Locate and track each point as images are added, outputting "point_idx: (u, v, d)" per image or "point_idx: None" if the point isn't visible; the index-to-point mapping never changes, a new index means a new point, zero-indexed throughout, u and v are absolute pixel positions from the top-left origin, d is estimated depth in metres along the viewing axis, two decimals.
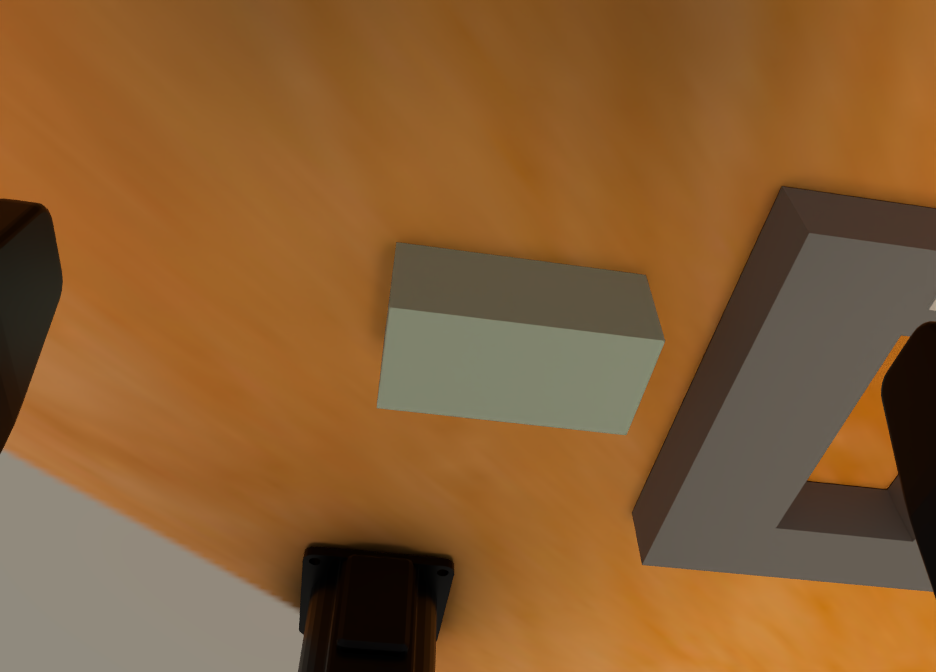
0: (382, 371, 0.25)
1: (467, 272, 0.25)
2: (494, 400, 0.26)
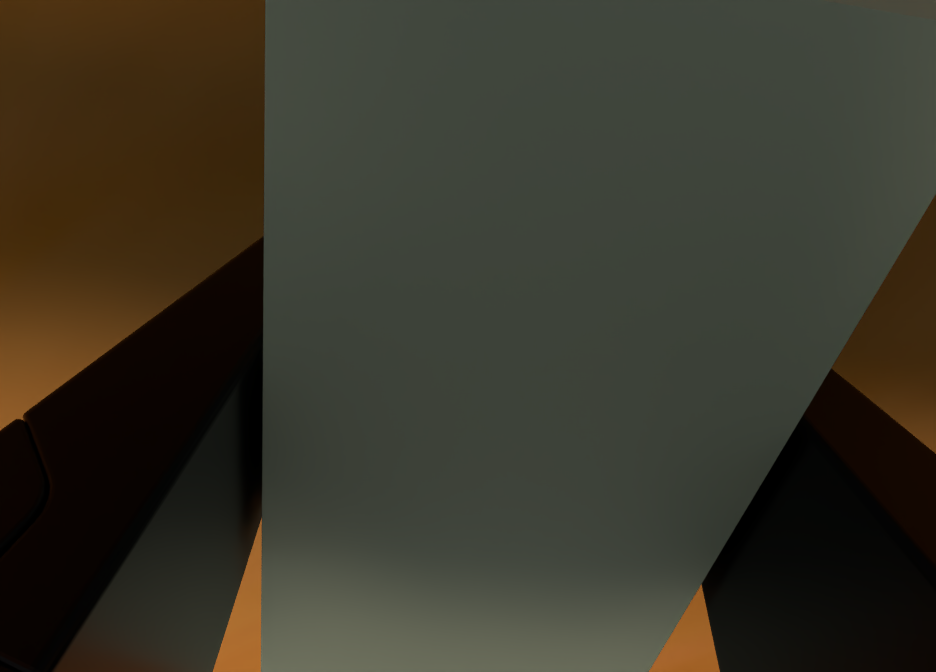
0: None
1: None
2: (631, 531, 0.07)
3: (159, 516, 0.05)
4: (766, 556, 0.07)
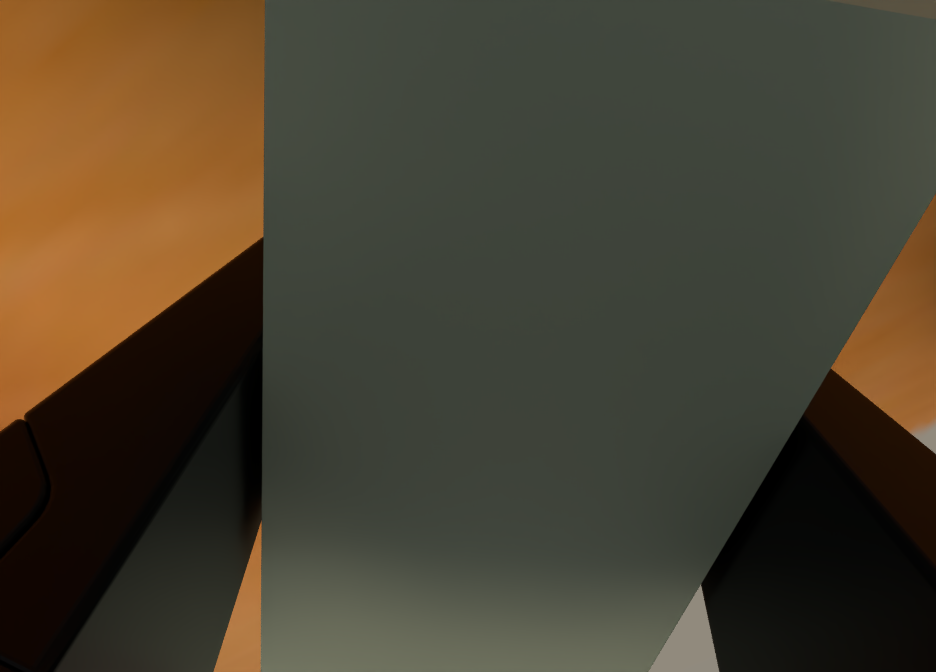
0: None
1: None
2: (631, 531, 0.07)
3: (160, 516, 0.05)
4: (766, 556, 0.07)
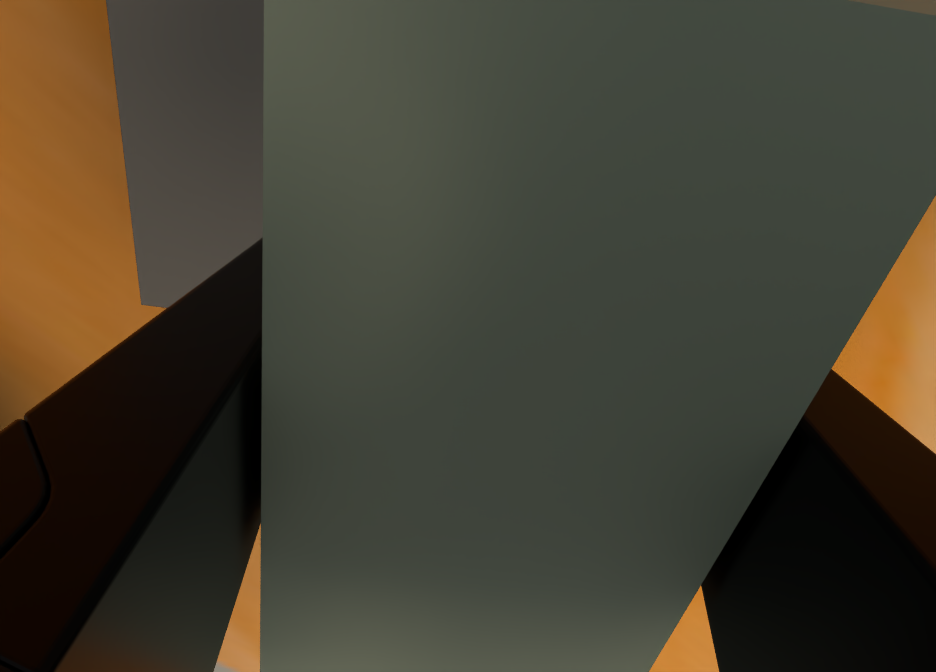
0: None
1: None
2: (631, 530, 0.07)
3: (161, 516, 0.05)
4: (765, 556, 0.07)
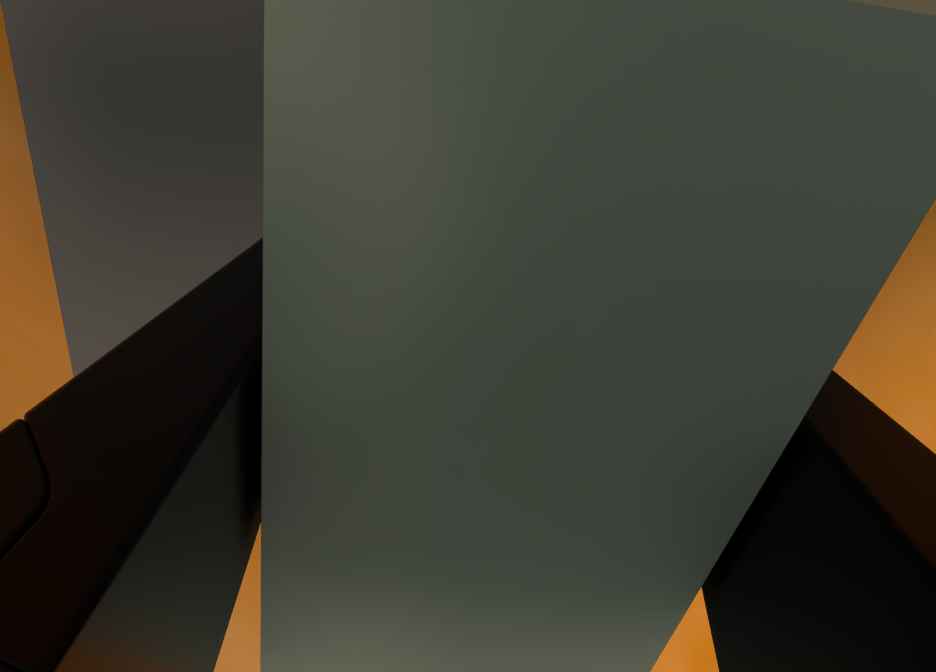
0: None
1: None
2: (632, 531, 0.07)
3: (160, 516, 0.05)
4: (765, 556, 0.07)
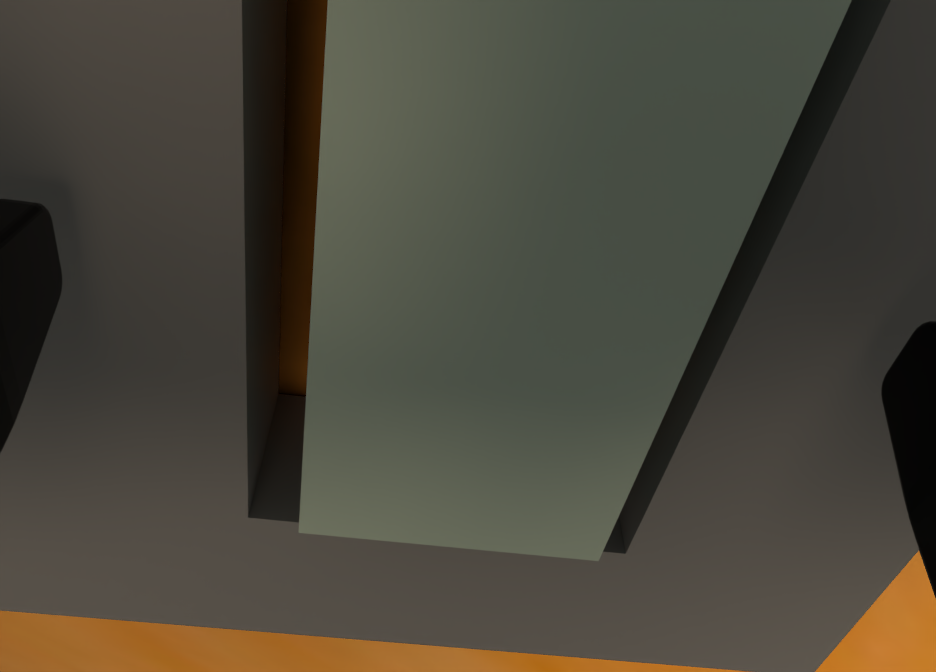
0: (485, 548, 0.11)
1: None
2: (606, 360, 0.09)
3: None
4: None
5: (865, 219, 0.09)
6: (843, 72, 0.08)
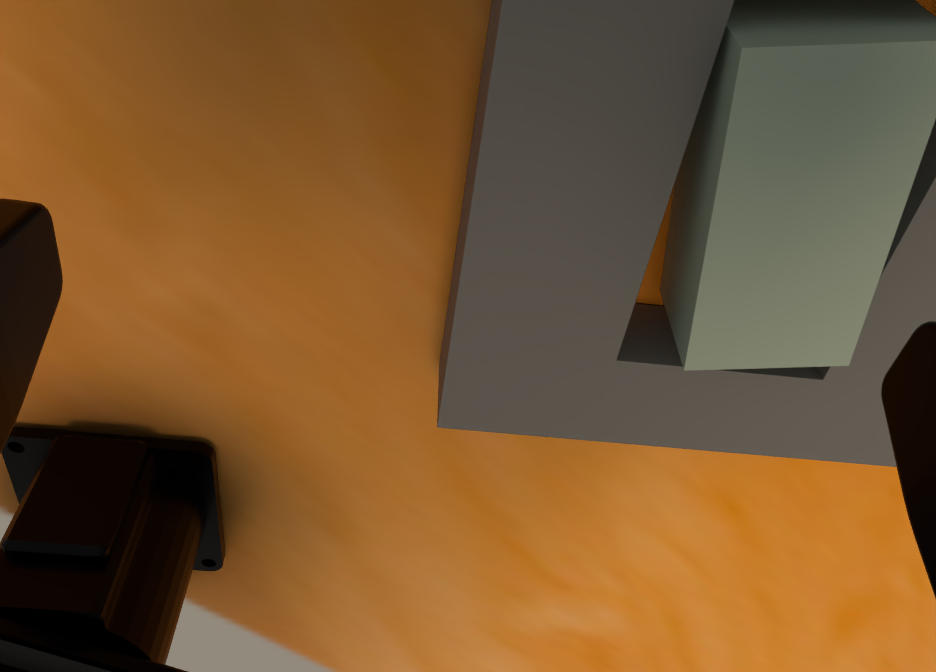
0: (785, 366, 0.20)
1: (678, 245, 0.20)
2: (850, 246, 0.18)
3: None
4: None
5: None
6: None
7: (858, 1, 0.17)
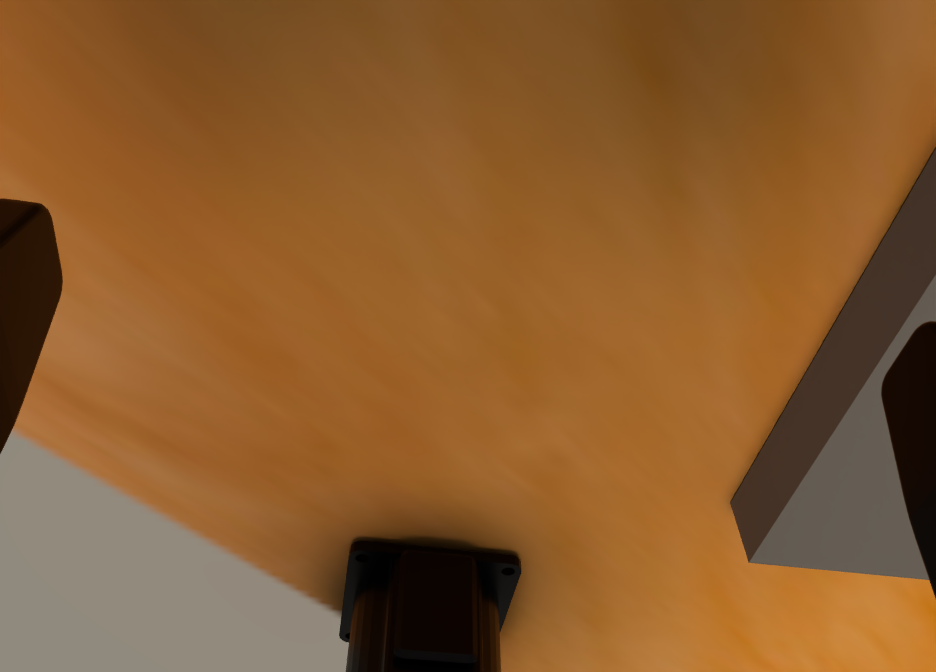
0: None
1: None
2: None
3: None
4: None
5: None
6: None
7: None
